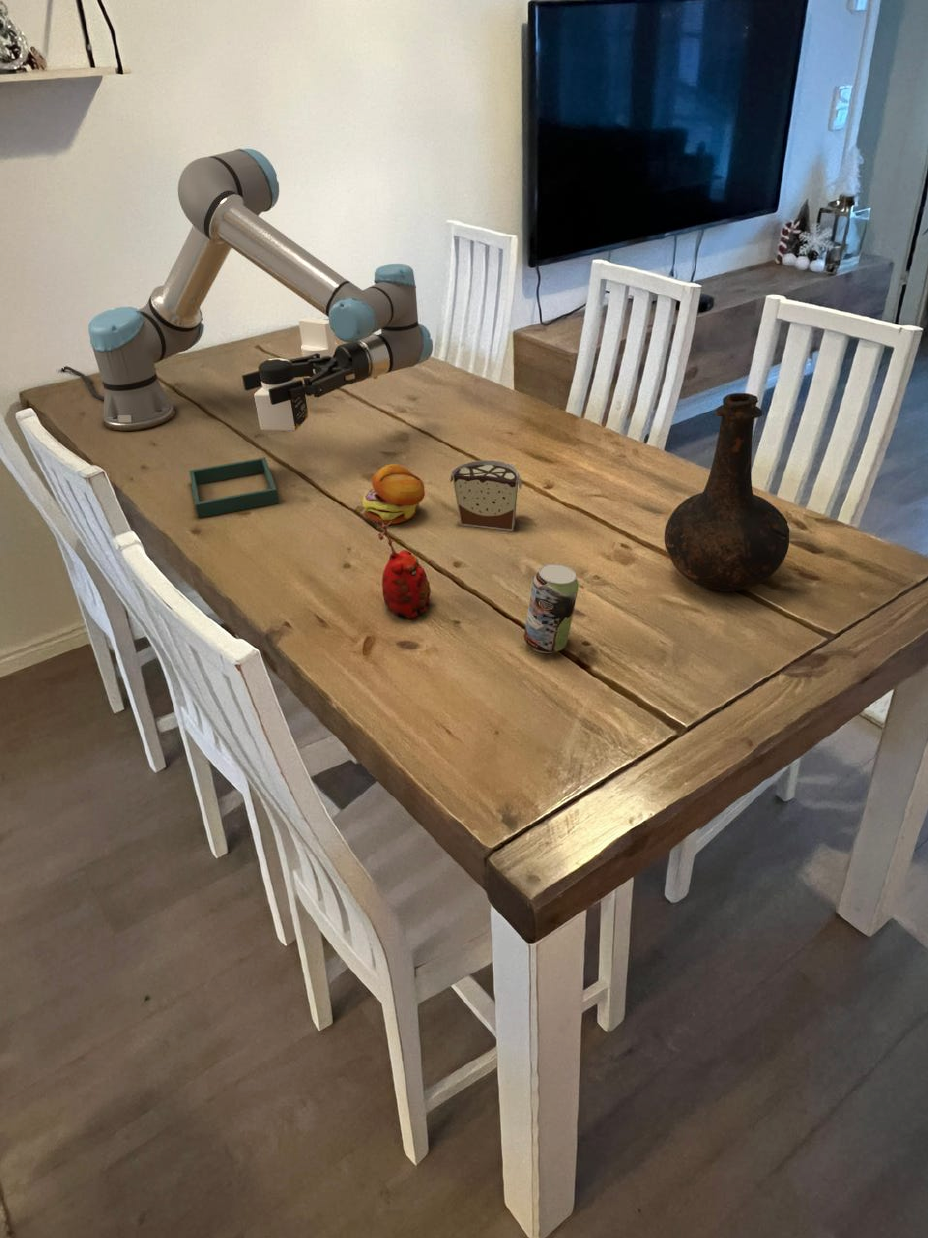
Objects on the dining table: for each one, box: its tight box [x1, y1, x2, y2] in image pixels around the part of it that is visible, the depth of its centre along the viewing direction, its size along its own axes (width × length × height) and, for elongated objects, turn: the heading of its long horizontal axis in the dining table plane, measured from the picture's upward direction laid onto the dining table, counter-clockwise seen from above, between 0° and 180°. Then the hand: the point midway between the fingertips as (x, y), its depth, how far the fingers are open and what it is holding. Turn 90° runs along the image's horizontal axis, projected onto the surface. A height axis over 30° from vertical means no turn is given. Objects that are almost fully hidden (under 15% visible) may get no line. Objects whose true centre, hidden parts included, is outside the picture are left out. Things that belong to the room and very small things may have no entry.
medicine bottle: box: [253, 357, 309, 432], centre depth 167 cm, size 7×7×12 cm
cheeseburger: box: [362, 463, 426, 525], centre depth 158 cm, size 10×11×10 cm
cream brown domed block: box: [449, 459, 523, 532], centre depth 154 cm, size 12×6×10 cm, turn 71°
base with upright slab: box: [298, 317, 338, 374], centre depth 225 cm, size 9×9×12 cm
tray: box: [189, 457, 280, 519], centre depth 170 cm, size 16×15×3 cm
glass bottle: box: [664, 392, 790, 592], centre depth 130 cm, size 18×18×28 cm
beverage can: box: [523, 563, 580, 654], centre depth 122 cm, size 6×7×12 cm
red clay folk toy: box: [376, 519, 432, 620], centre depth 131 cm, size 8×7×15 cm
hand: (257, 389), depth 164 cm, fingers closed on medicine bottle, 10 cm apart
